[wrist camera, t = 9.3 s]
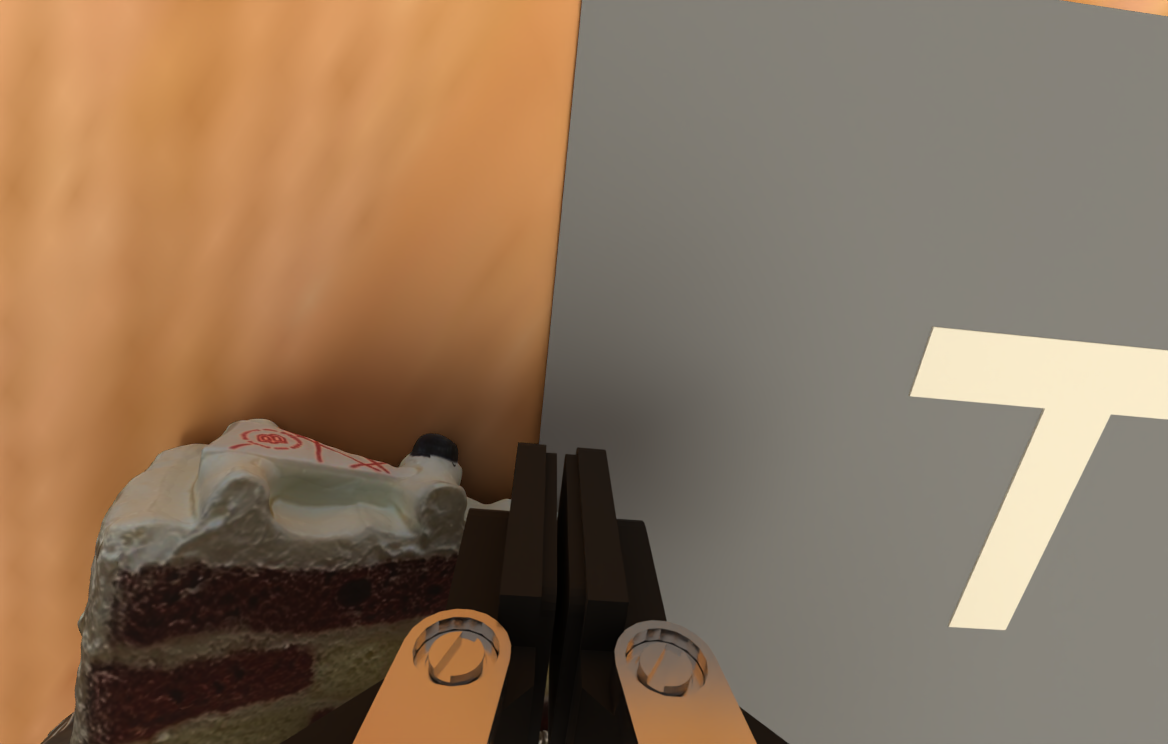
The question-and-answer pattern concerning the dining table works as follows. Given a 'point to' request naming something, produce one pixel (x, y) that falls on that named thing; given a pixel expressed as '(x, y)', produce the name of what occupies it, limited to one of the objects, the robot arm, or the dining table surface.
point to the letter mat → (882, 353)
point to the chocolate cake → (261, 586)
